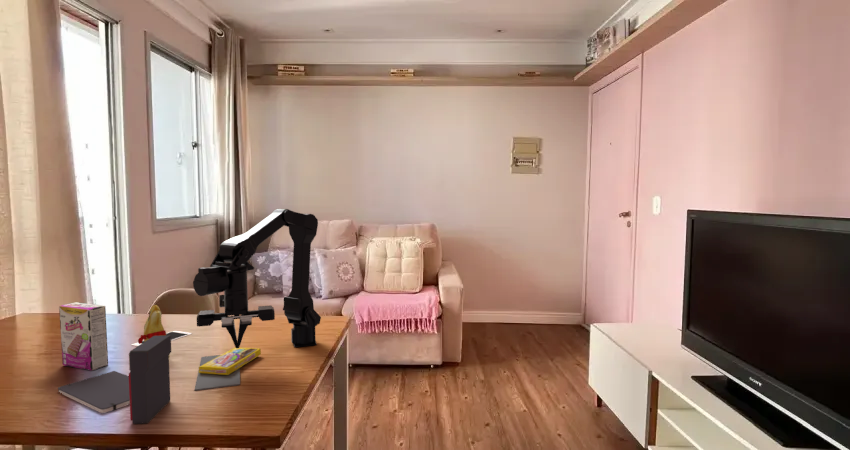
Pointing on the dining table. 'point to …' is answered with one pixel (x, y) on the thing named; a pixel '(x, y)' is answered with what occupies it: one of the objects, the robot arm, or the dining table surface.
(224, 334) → the dining table surface
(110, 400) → the notebook
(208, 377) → the mat
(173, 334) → the cell phone
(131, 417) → the dark grey upright slab
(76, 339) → the candy bar box
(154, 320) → the chocolate bunny
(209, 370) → the candy box
